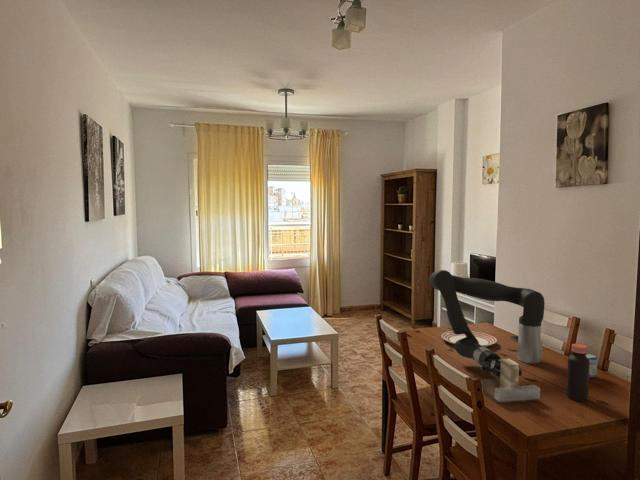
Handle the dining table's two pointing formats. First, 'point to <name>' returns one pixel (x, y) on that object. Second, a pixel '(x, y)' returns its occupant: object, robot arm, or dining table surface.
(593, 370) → the medicine box
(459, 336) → the dinner plate
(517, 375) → the cream tall block
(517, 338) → the phone
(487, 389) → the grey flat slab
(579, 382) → the bottle
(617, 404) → the dining table surface
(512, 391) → the metal rail
